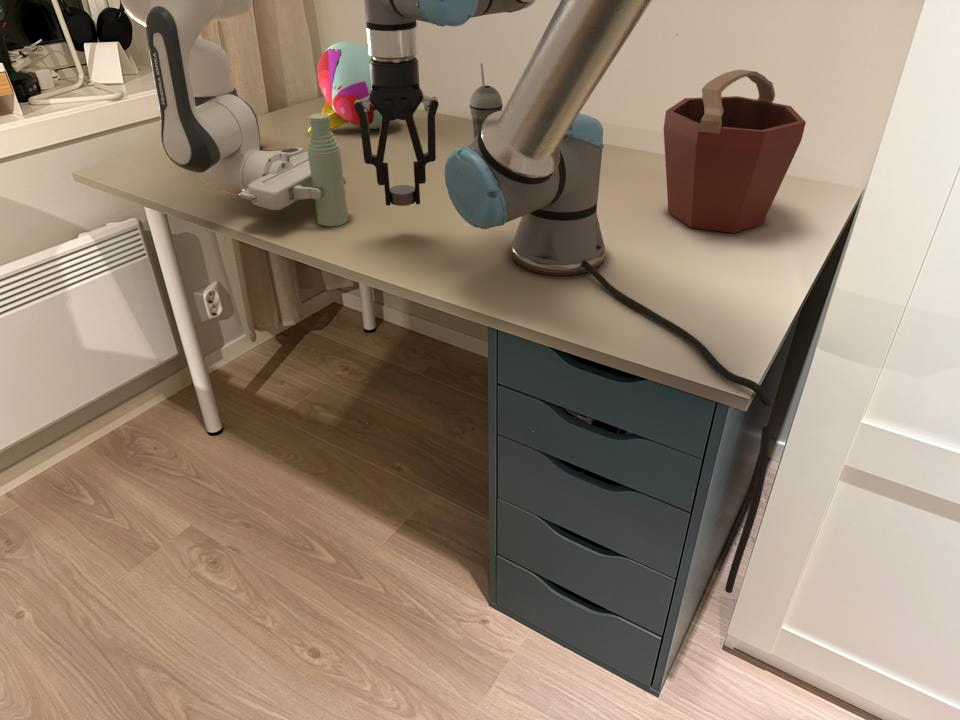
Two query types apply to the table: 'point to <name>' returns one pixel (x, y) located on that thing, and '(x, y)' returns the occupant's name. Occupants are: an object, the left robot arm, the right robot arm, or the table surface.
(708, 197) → the bucket
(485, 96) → the beverage cup
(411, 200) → the cap
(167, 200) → the table surface
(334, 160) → the bottle
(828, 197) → the table surface
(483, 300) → the table surface
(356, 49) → the toy
